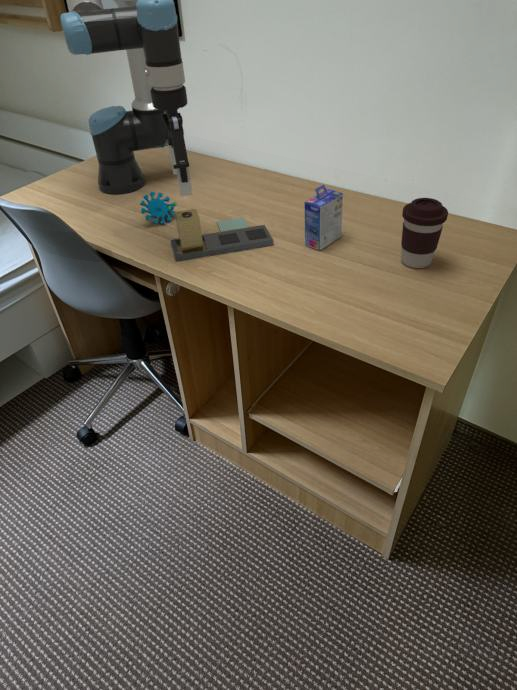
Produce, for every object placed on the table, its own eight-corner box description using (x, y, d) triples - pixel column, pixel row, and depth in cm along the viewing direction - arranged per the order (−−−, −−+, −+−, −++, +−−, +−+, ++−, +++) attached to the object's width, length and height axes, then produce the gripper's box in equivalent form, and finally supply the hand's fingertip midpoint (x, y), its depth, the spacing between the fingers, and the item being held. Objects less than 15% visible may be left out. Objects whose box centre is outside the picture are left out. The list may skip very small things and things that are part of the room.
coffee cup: (429, 276, 116) (442, 217, 106) (389, 265, 120) (397, 208, 111) (442, 256, 122) (455, 199, 113) (403, 247, 127) (412, 191, 117)
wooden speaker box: (180, 246, 132) (174, 211, 126) (200, 243, 133) (196, 207, 126) (183, 256, 128) (177, 220, 121) (204, 253, 129) (199, 217, 122)
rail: (171, 244, 133) (170, 239, 132) (264, 229, 137) (264, 224, 136) (175, 261, 126) (174, 256, 125) (273, 245, 131) (273, 239, 130)
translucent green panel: (216, 222, 142) (216, 221, 141) (243, 218, 143) (243, 217, 143) (221, 235, 136) (221, 234, 135) (250, 231, 137) (250, 229, 137)
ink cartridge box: (325, 230, 135) (327, 178, 126) (342, 236, 132) (345, 184, 123) (302, 245, 130) (303, 192, 120) (319, 251, 127) (322, 197, 118)
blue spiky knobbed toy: (147, 225, 139) (136, 192, 139) (143, 234, 144) (131, 202, 144) (183, 219, 144) (172, 187, 144) (177, 227, 149) (166, 196, 150)
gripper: (145, 75, 114) (161, 167, 127) (155, 103, 95) (172, 207, 109) (177, 72, 115) (190, 163, 128) (193, 98, 96) (206, 202, 110)
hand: (182, 183), depth 119 cm, fingers open, 13 cm apart
